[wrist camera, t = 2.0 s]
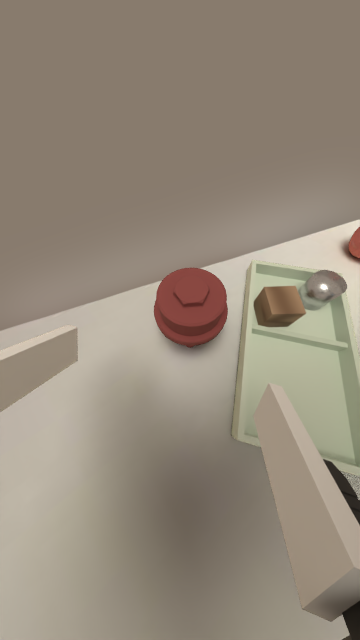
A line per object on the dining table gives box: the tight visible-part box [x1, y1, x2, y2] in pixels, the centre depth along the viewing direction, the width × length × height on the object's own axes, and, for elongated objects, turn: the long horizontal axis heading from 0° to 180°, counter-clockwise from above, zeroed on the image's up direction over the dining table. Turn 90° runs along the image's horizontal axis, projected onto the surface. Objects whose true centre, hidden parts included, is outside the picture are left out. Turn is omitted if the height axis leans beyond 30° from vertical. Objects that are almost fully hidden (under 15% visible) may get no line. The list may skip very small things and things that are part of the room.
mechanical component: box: [154, 268, 228, 348], centre depth 24 cm, size 12×10×10 cm
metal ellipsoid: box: [297, 270, 347, 311], centre depth 29 cm, size 5×5×5 cm
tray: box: [231, 260, 360, 476], centre depth 27 cm, size 16×30×3 cm, turn 166°
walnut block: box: [253, 286, 306, 327], centre depth 28 cm, size 5×5×5 cm
